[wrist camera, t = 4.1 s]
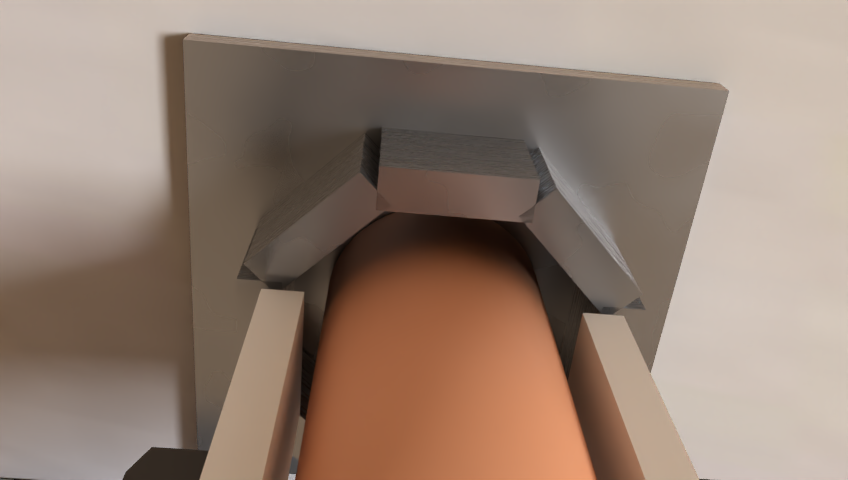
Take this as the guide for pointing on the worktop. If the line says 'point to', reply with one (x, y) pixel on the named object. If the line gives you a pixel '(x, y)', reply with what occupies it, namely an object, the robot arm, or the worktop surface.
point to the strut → (438, 362)
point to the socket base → (430, 181)
